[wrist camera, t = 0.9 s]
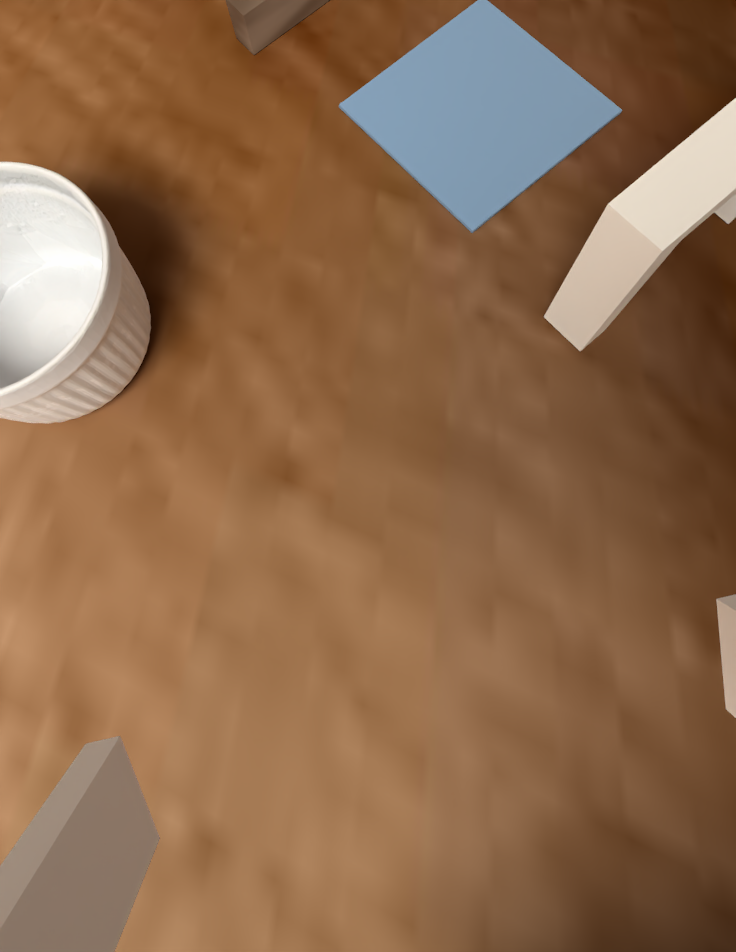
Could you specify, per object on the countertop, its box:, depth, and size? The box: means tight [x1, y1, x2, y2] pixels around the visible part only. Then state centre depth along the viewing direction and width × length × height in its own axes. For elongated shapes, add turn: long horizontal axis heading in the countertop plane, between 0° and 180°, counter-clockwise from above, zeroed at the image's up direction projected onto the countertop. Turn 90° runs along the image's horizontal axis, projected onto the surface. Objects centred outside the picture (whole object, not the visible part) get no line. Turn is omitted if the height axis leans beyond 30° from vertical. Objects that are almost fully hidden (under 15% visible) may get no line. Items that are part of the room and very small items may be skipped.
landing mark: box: [339, 0, 622, 233], centre depth 33 cm, size 13×13×1 cm
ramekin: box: [0, 162, 151, 423], centre depth 28 cm, size 13×13×7 cm
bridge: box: [544, 98, 736, 351], centre depth 26 cm, size 3×14×9 cm, turn 130°
